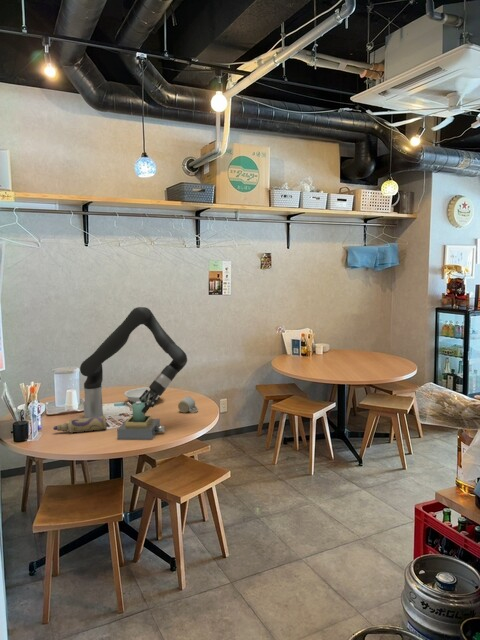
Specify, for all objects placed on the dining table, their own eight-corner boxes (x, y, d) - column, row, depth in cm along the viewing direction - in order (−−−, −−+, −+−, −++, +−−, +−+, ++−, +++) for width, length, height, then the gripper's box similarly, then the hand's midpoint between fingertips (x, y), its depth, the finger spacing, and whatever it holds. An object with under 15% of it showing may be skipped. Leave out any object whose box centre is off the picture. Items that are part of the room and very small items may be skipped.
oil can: (142, 421, 236) (141, 398, 235) (147, 424, 231) (146, 400, 230) (126, 424, 231) (124, 401, 230) (130, 427, 226) (129, 403, 225)
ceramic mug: (177, 412, 266) (177, 399, 265) (183, 408, 273) (183, 396, 272) (194, 414, 262) (194, 401, 261) (200, 410, 270) (200, 397, 269)
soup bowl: (171, 400, 292) (171, 389, 292) (144, 410, 272) (144, 399, 272) (143, 395, 305) (143, 385, 305) (115, 404, 285) (115, 394, 284)
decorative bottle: (107, 426, 245) (106, 414, 244) (106, 431, 238) (105, 418, 237) (54, 431, 239) (53, 418, 238) (52, 436, 232) (51, 423, 231)
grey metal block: (117, 439, 225) (116, 424, 224) (127, 428, 241) (127, 414, 240) (160, 439, 224) (159, 424, 223) (167, 428, 239) (167, 414, 239)
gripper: (149, 377, 241) (129, 403, 236) (160, 382, 229) (139, 409, 224) (159, 385, 244) (139, 411, 239) (171, 391, 232) (150, 418, 227)
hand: (139, 410), depth 231 cm, fingers open, 8 cm apart
